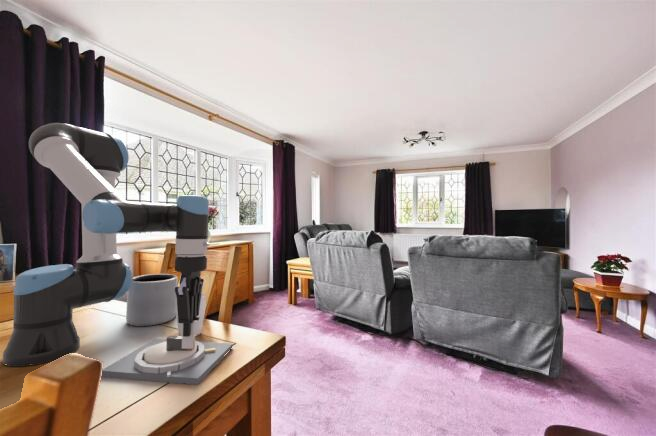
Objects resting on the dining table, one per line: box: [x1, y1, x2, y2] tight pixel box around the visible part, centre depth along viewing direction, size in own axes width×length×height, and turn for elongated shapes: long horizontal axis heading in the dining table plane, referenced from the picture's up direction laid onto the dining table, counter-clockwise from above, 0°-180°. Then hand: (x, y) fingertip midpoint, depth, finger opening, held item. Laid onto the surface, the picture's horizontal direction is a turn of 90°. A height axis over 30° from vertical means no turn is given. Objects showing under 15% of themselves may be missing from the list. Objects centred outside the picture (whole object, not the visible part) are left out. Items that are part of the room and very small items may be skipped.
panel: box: [101, 338, 234, 386], centre depth 78 cm, size 24×20×3 cm
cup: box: [175, 293, 207, 336], centre depth 97 cm, size 9×9×12 cm
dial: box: [144, 335, 197, 365], centre depth 77 cm, size 12×12×5 cm
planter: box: [125, 273, 179, 327], centre depth 109 cm, size 16×16×16 cm
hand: (188, 347), depth 76 cm, fingers closed
